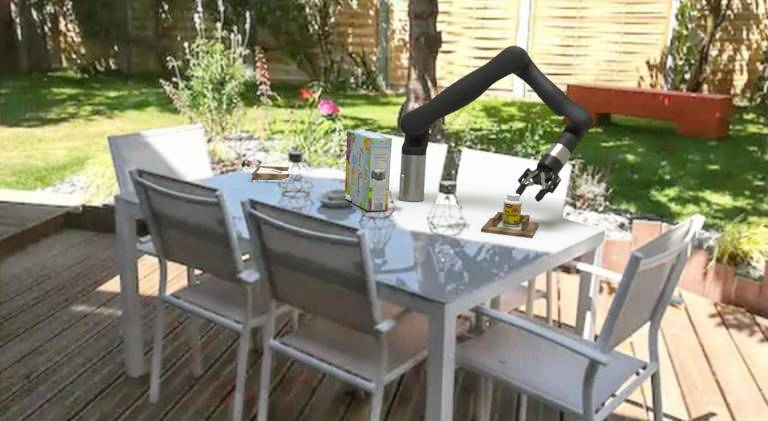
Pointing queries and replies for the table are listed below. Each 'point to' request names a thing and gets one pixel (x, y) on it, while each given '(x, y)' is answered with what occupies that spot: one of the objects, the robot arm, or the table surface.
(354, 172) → the snack box
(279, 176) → the tray
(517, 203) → the supplement bottle
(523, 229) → the brown wooden square frame
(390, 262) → the table surface
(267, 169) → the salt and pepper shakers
